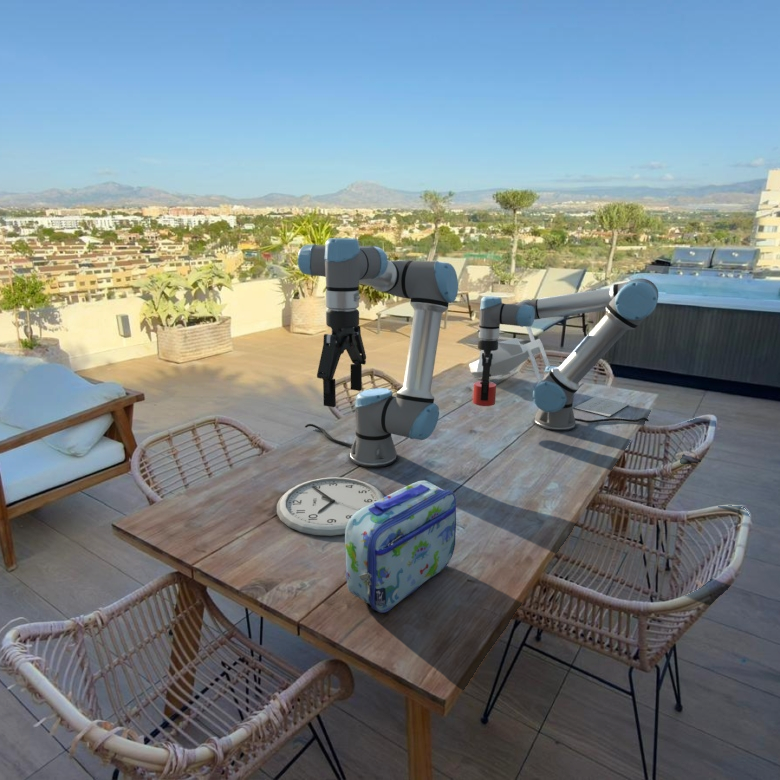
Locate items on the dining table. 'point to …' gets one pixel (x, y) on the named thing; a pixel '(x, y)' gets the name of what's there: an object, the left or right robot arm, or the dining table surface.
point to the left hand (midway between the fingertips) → (343, 397)
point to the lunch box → (399, 543)
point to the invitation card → (601, 406)
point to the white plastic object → (511, 357)
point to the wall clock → (325, 504)
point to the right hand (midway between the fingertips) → (484, 396)
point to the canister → (477, 394)
